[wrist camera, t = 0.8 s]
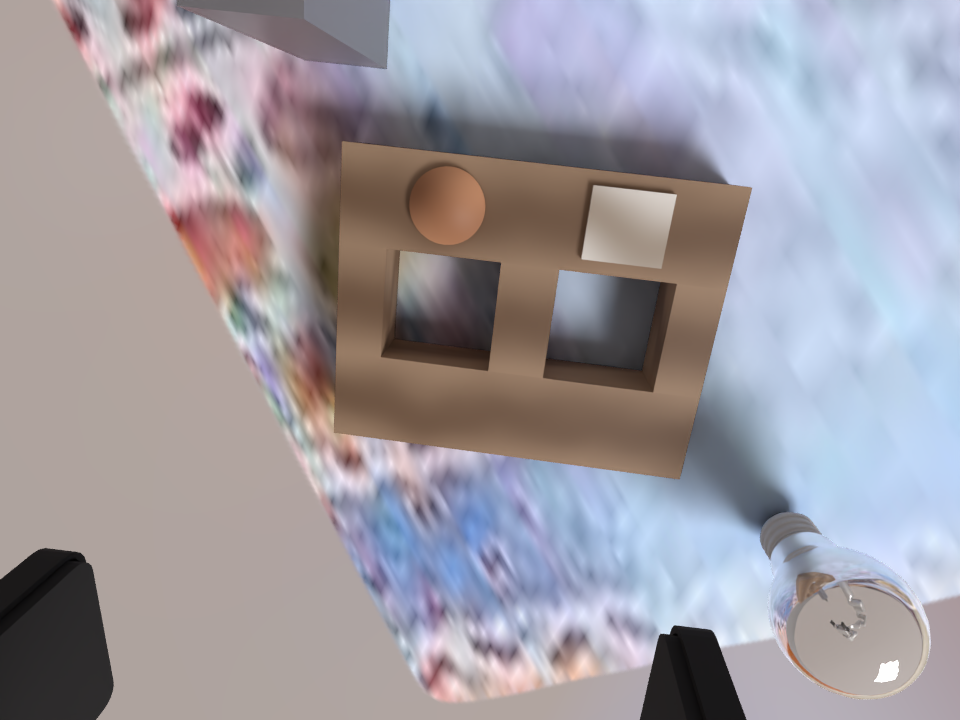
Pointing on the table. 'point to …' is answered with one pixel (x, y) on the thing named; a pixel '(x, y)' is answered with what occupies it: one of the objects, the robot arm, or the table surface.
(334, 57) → the plug
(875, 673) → the light bulb
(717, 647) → the robot arm
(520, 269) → the socket block
